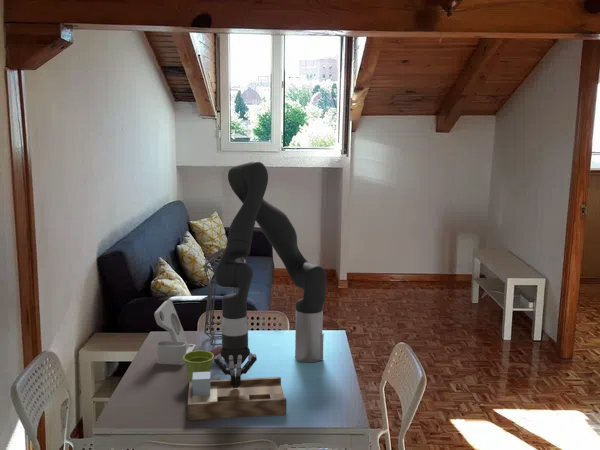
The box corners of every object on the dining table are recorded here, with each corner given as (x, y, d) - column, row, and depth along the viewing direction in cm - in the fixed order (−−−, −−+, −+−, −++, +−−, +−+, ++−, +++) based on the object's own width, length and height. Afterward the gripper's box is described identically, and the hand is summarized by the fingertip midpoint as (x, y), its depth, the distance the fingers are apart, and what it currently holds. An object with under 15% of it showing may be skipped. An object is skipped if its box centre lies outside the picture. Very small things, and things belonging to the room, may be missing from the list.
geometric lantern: (203, 333, 233) (204, 243, 227) (244, 334, 234) (246, 244, 229) (200, 348, 217) (201, 252, 212) (244, 348, 219) (247, 253, 213)
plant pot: (219, 378, 193) (219, 352, 191) (205, 391, 184) (204, 363, 182) (193, 374, 196) (192, 348, 194) (178, 386, 187) (177, 359, 185)
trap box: (280, 391, 184) (280, 377, 184) (286, 414, 170) (286, 399, 169) (189, 395, 181) (189, 381, 180) (187, 420, 166) (187, 404, 165)
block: (210, 387, 179) (210, 371, 178) (210, 395, 174) (210, 378, 174) (193, 388, 179) (192, 372, 178) (192, 396, 174) (192, 379, 173)
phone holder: (184, 365, 203) (183, 313, 200) (154, 364, 204) (153, 312, 201) (196, 346, 220) (195, 298, 217) (168, 345, 221) (167, 297, 218)
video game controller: (237, 368, 205) (239, 347, 207) (235, 367, 201) (237, 345, 203) (208, 366, 206) (210, 345, 208) (205, 365, 201) (207, 344, 203)
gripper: (257, 325, 180) (257, 380, 183) (211, 326, 178) (213, 382, 181) (258, 334, 173) (259, 391, 176) (211, 335, 171) (212, 393, 174)
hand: (235, 386), depth 178 cm, fingers closed
